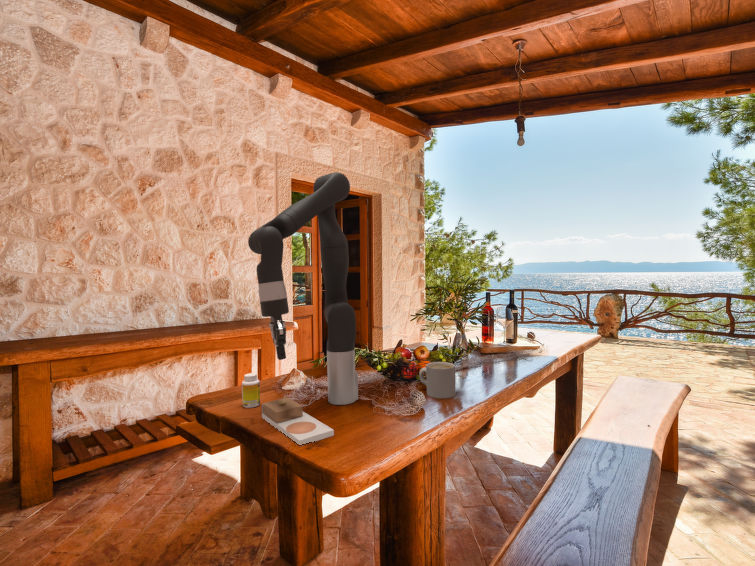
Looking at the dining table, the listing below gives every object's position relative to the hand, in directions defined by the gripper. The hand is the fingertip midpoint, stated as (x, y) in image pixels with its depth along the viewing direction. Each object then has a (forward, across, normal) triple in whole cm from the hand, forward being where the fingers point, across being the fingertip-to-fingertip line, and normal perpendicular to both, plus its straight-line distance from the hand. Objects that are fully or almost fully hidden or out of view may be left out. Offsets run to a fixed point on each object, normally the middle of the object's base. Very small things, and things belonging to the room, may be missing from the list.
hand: (281, 358), depth 111 cm
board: (+19, -1, -1) cm, 19 cm away
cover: (+17, +5, +1) cm, 18 cm away
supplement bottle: (+17, +23, +8) cm, 30 cm away
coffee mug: (+24, +6, -52) cm, 58 cm away
